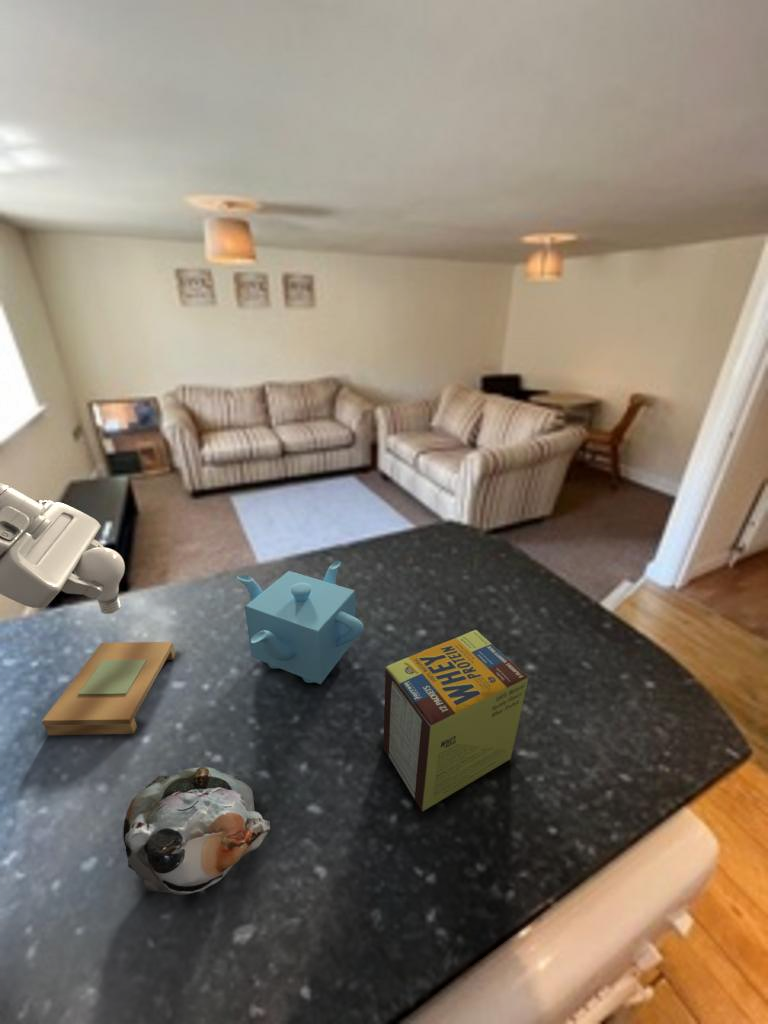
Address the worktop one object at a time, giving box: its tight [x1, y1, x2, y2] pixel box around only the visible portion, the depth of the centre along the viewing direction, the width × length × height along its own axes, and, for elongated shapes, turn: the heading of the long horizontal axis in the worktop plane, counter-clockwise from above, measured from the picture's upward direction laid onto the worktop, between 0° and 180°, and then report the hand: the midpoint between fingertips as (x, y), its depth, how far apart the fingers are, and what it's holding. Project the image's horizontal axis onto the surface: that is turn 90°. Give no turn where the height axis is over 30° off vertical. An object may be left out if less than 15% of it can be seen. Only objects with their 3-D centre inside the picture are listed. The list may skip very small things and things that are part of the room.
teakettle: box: [236, 560, 364, 685], centre depth 77 cm, size 19×19×15 cm
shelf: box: [41, 641, 176, 736], centre depth 71 cm, size 12×16×3 cm
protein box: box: [382, 629, 529, 812], centre depth 60 cm, size 10×15×16 cm
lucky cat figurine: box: [122, 766, 271, 896], centre depth 49 cm, size 15×12×14 cm
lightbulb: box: [73, 546, 126, 615], centre depth 67 cm, size 6×6×11 cm
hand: (107, 578), depth 67 cm, fingers closed on lightbulb, 6 cm apart
